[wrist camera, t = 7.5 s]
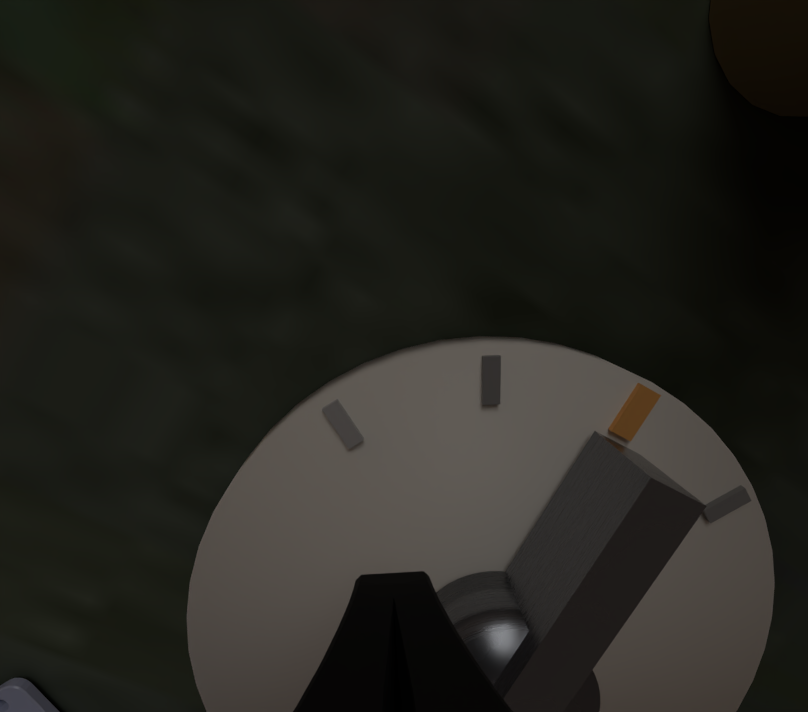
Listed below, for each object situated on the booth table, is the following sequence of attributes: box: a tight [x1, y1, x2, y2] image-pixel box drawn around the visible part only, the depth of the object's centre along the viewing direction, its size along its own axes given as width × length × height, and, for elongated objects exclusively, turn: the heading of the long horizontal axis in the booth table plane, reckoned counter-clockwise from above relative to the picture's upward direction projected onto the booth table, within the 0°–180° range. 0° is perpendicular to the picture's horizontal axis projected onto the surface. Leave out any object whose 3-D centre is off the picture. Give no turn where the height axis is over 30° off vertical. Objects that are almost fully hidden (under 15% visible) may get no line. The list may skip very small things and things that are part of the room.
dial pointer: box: [436, 431, 707, 712], centre depth 13 cm, size 10×5×3 cm, turn 152°
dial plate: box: [187, 336, 775, 712], centre depth 16 cm, size 19×19×2 cm
